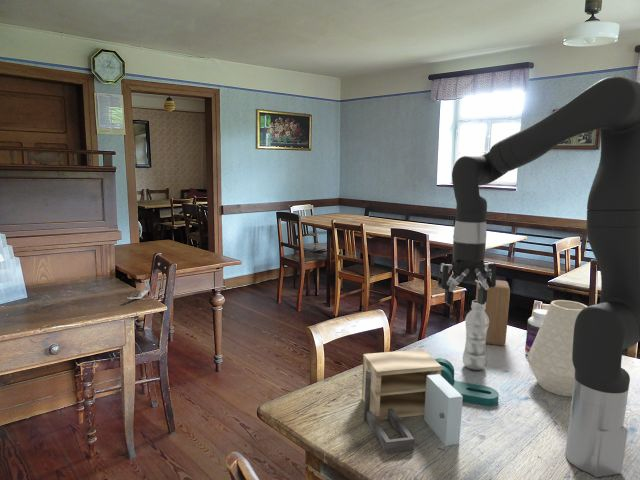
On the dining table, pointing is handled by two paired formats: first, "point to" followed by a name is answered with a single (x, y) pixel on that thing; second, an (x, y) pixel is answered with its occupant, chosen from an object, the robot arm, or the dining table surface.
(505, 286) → the wooden block
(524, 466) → the dining table surface
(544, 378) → the vase
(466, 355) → the plastic bottle
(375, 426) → the wooden caddy
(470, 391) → the bracket
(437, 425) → the door
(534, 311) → the pill bottle
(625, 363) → the dining table surface
